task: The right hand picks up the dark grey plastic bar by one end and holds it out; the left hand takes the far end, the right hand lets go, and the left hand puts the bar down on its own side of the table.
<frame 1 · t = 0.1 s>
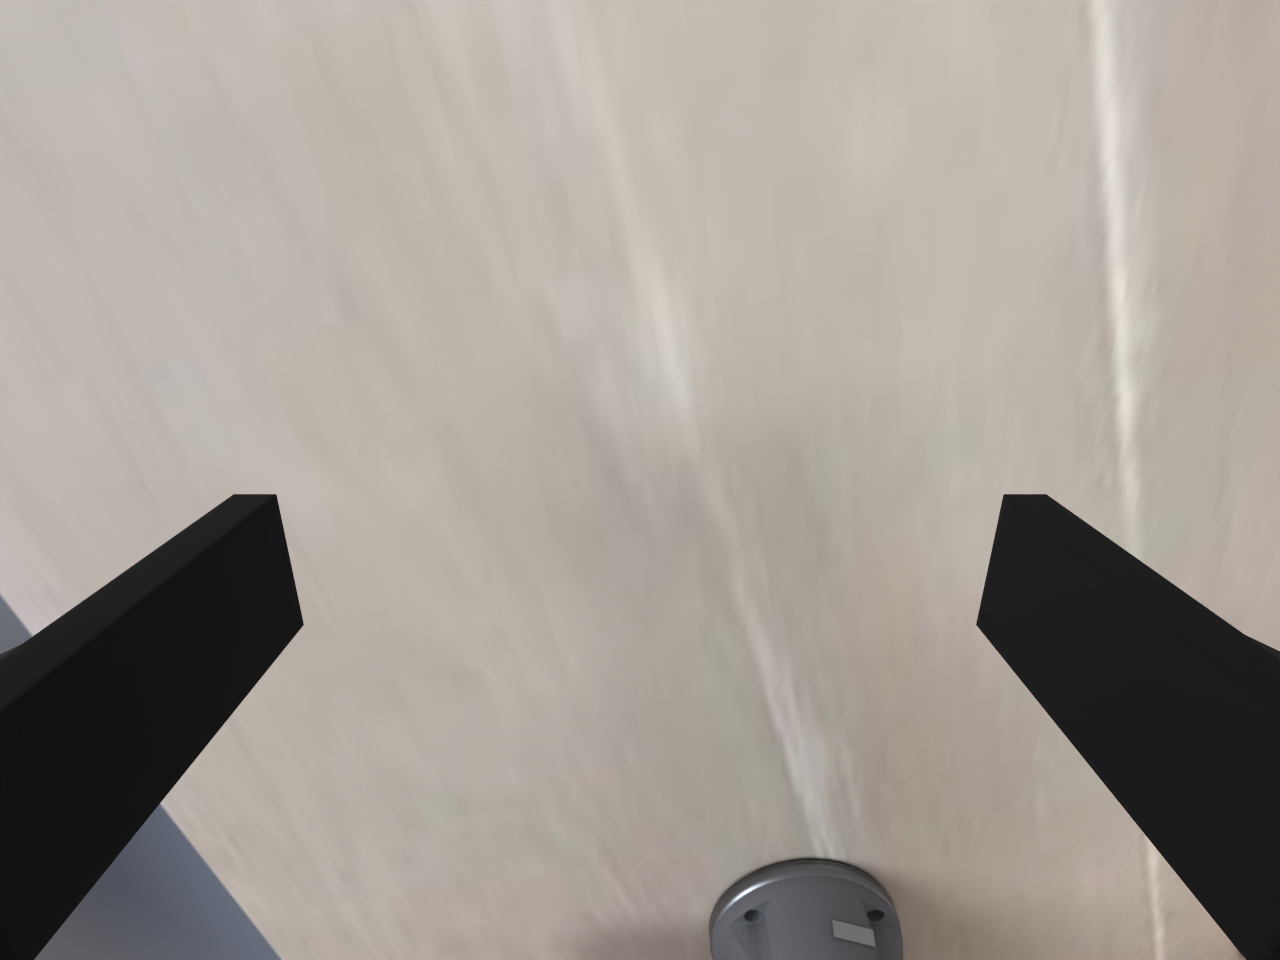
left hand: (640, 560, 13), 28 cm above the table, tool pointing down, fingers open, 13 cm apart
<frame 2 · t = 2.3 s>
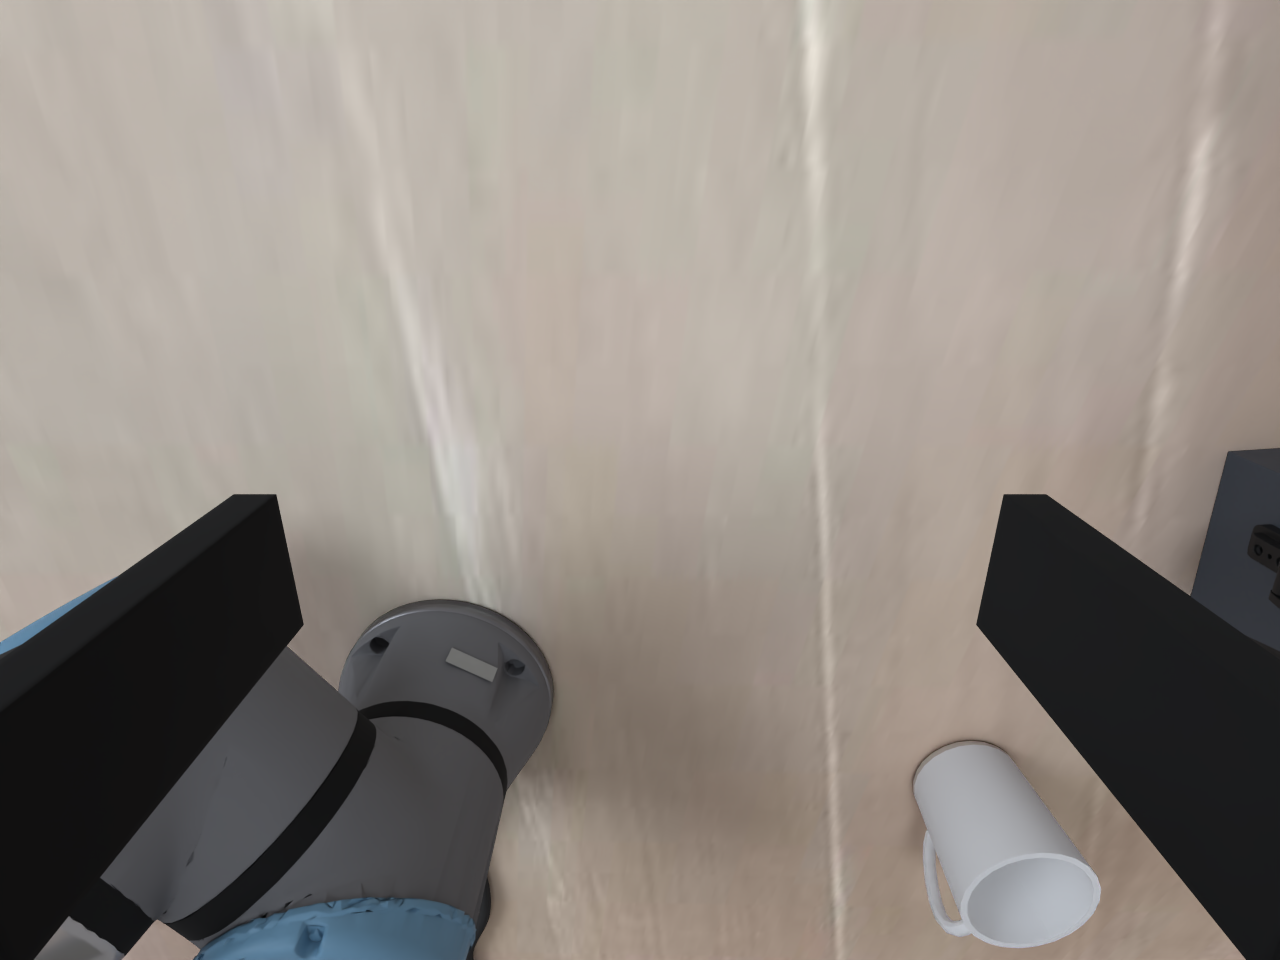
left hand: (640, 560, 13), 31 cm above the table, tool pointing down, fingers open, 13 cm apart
bar: (1228, 601, 48), on the table, touching right hand
mug: (951, 784, 55), on the table
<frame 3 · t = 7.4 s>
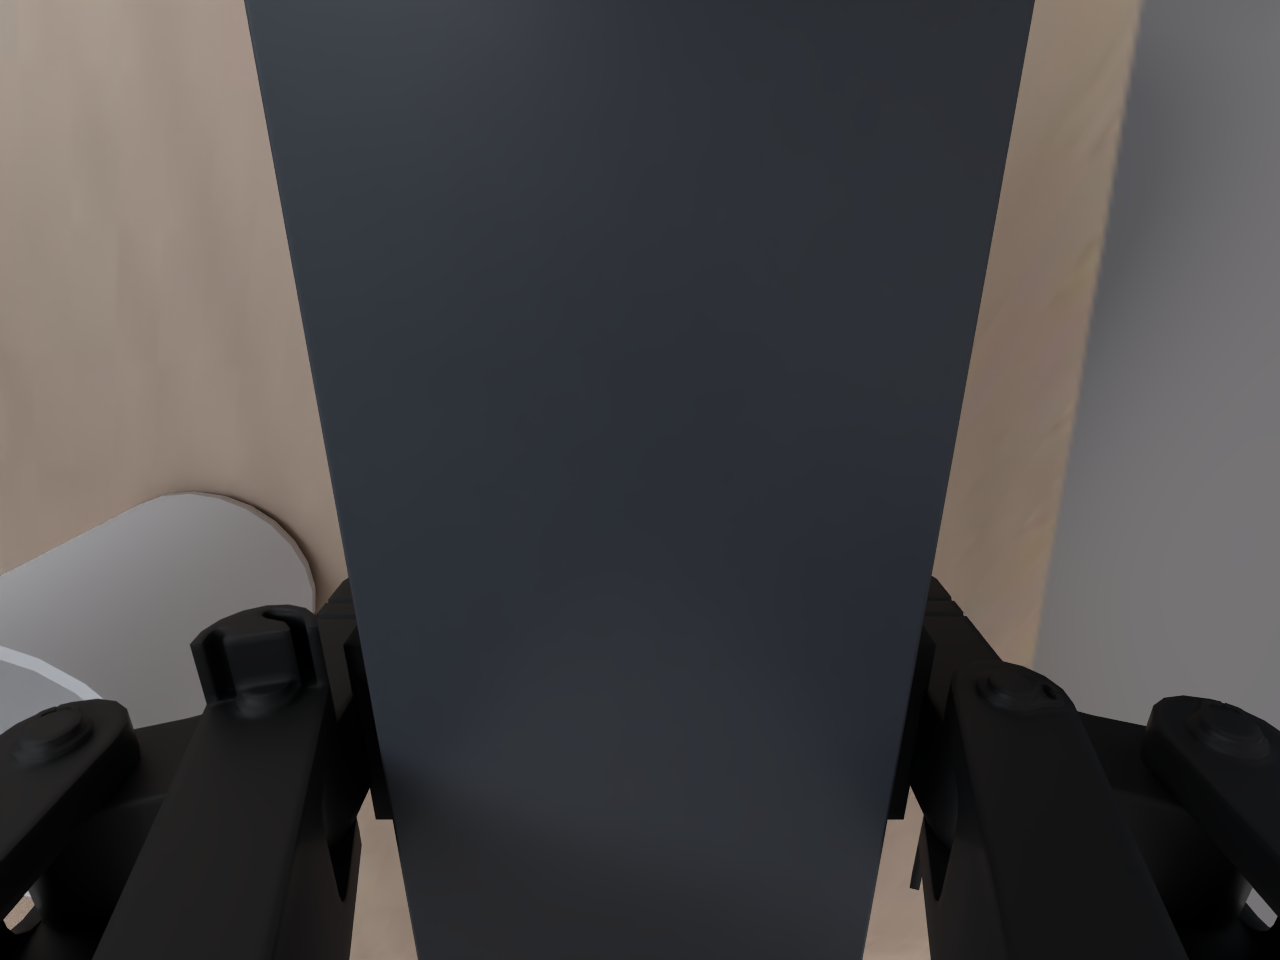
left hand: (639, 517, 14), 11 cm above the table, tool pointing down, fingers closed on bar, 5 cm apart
bar: (639, 128, 13), point 10 cm above the table, touching left hand, right hand
mug: (205, 593, 28), on the table
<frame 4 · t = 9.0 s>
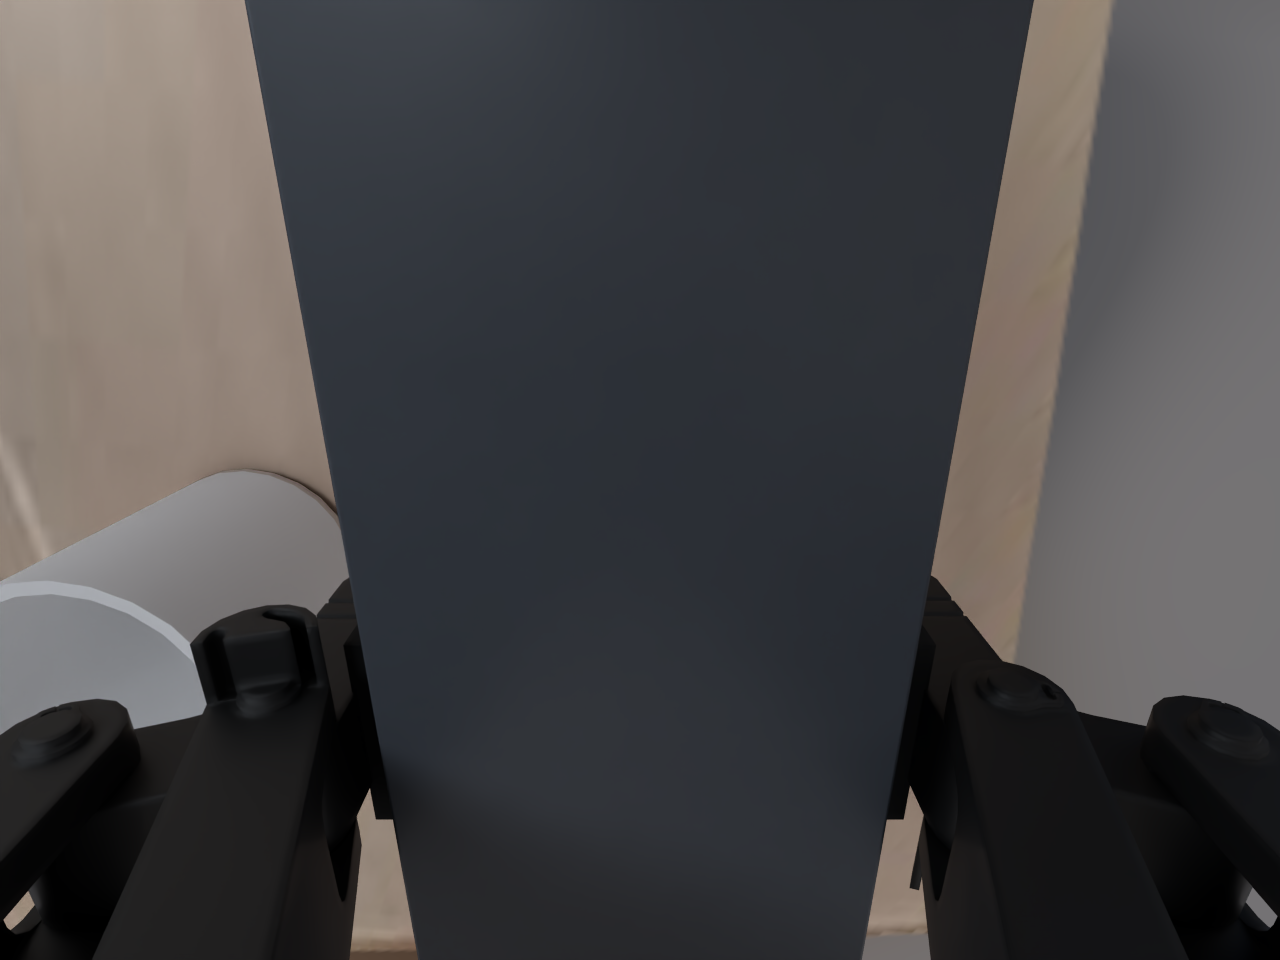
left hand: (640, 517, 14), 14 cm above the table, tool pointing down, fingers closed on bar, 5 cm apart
bar: (639, 128, 13), point 13 cm above the table, touching left hand
mug: (254, 564, 31), on the table
when the left hand's fingers open (2 cm above the table, at t = 17.6 s): bar stays where it is, on the table.
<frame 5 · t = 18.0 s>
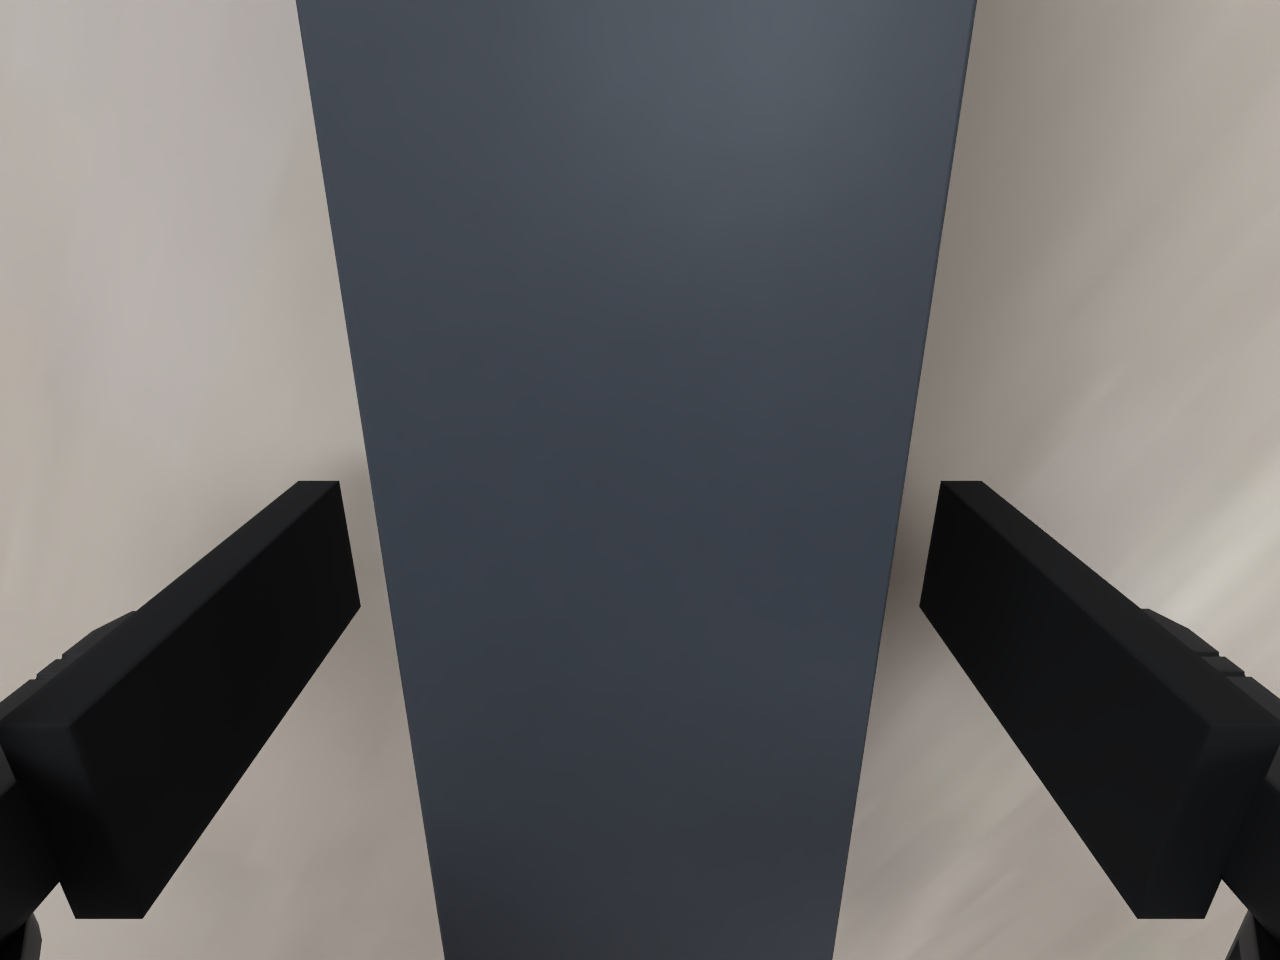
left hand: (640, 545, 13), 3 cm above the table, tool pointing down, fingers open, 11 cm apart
bar: (638, 135, 13), on the table
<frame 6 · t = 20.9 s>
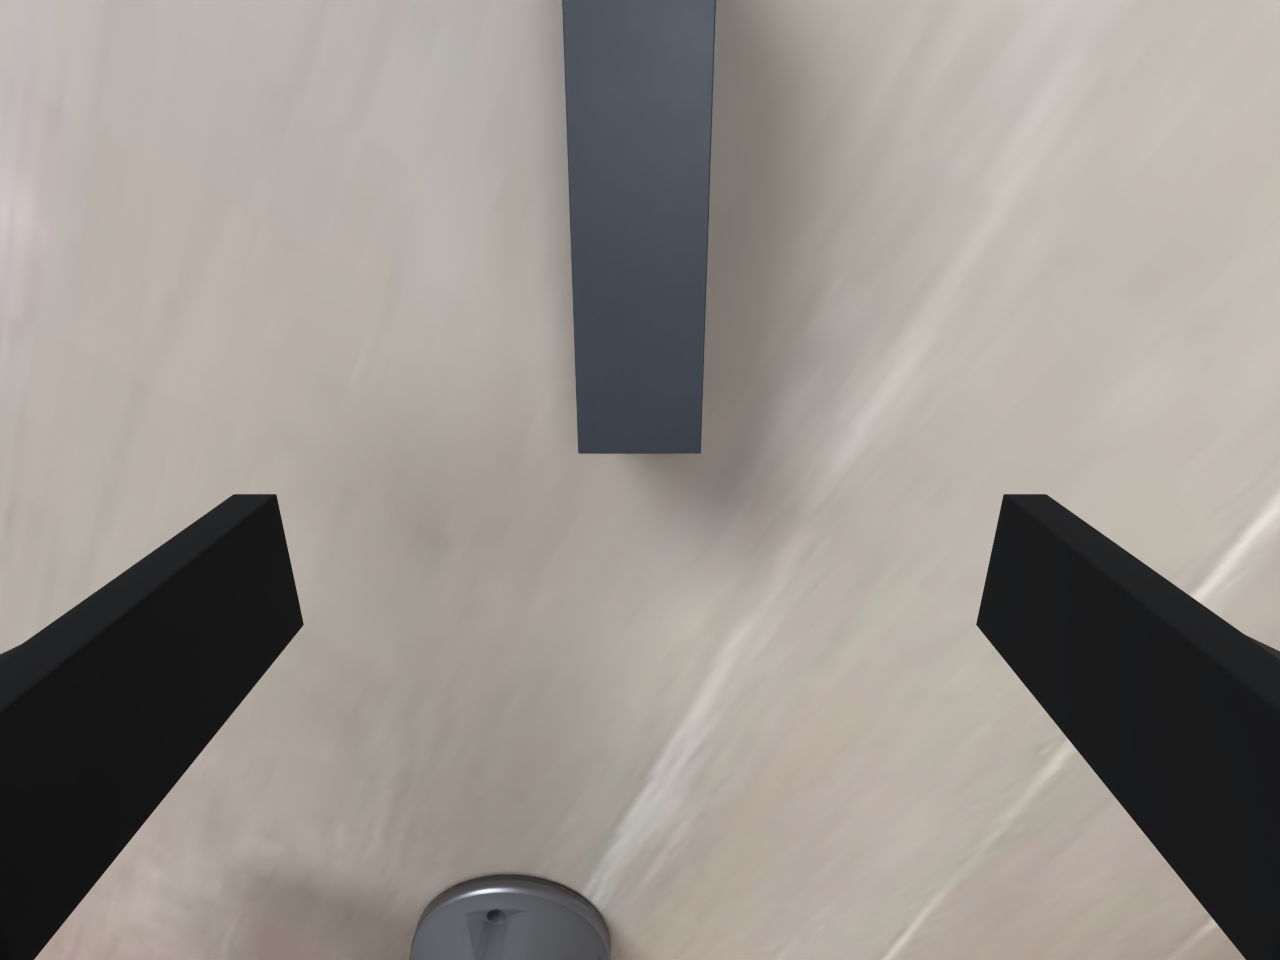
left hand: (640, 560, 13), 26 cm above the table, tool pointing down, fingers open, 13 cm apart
bar: (639, 179, 34), on the table
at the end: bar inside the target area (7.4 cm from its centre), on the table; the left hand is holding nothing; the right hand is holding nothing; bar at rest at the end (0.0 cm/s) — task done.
